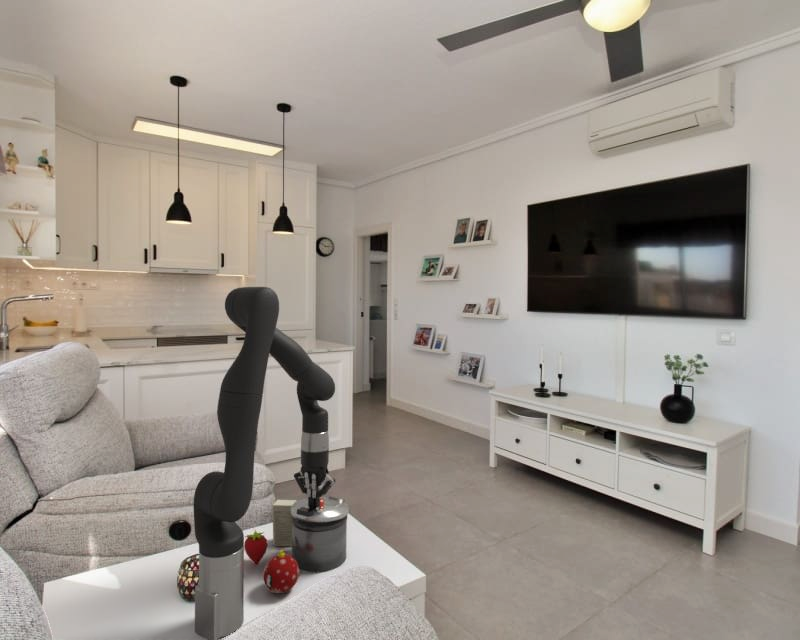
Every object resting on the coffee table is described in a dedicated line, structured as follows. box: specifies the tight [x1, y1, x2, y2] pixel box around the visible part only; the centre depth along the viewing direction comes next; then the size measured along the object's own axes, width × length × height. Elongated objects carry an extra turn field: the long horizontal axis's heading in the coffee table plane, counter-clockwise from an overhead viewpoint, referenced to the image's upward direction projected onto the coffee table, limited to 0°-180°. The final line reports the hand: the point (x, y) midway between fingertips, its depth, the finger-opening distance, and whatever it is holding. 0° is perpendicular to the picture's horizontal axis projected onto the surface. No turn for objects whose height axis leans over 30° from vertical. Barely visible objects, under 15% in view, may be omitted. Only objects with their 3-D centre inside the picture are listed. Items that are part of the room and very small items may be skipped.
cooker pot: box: [291, 514, 348, 573], centre depth 134 cm, size 15×15×12 cm
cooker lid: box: [291, 496, 350, 522], centre depth 134 cm, size 17×16×3 cm
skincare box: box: [271, 499, 298, 547], centre depth 142 cm, size 6×4×12 cm
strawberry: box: [244, 529, 268, 566], centre depth 130 cm, size 6×8×10 cm
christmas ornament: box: [262, 549, 300, 594], centre depth 118 cm, size 9×9×10 cm
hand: (313, 509), depth 131 cm, fingers closed
